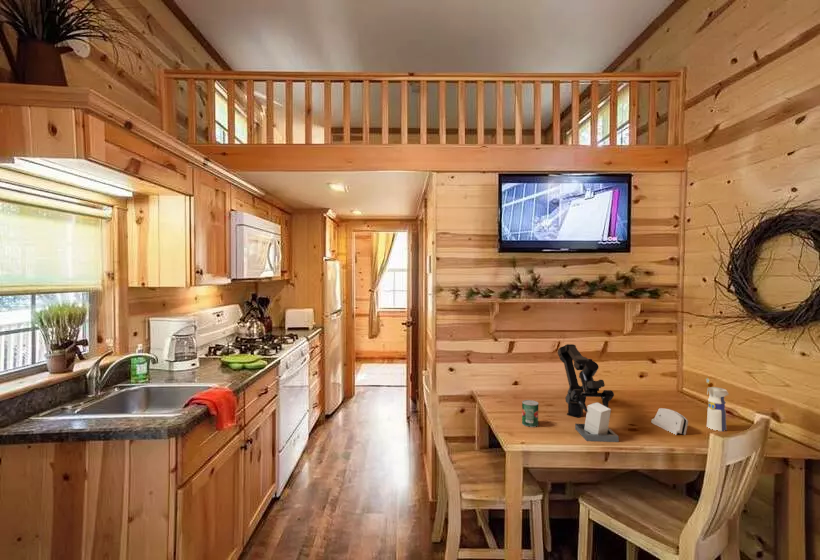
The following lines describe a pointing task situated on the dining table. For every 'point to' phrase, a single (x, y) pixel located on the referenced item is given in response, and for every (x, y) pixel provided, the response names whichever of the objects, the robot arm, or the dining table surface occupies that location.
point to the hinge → (671, 421)
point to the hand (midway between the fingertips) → (596, 411)
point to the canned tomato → (530, 413)
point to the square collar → (597, 435)
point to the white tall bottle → (716, 408)
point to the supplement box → (597, 419)
